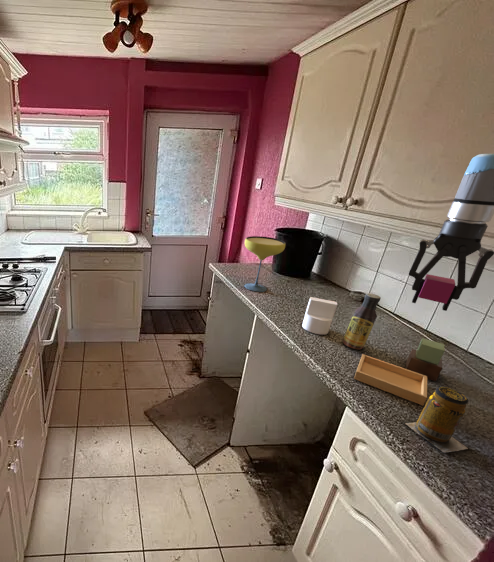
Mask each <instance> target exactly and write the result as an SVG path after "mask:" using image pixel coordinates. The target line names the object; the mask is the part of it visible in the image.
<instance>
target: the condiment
mask: <svg viewBox="0 0 494 562" xmlns="http://www.w3.org/2000/svg"><path fill="white" fill-rule="evenodd" d="M467 404H469V398H467V397H466V395H465V394H463V393H461V391H458V390H456V389H453V388H450V387H448V386H447V387H446V386H438V387H436V389H435V391H434V392H433V394H430V395H429V397H428V398H427V400H426V401H425V404H424V407H423V408H422V410H421V412H420V414H419V416H418V419H417V420H416V421H415V422H405V423H404V424H405V425H406V426H408V428H410V429H411V430H412V431H414V432H415V434H417V435H419V437H422V438H423V439H425V440H426V441H428V443H430V444H431V445H433V446H434V447H435V448H437V449H438V450H440V451H441V453H451V452H459V451H464V450H468V449H469V448H468V447H467V446H466V445H464V444H463V443H461V442H460V441H459V440H457V439H456V438H454V437H453V435H454V433H455V431H456V430H457V427H458V426H459V424H460V423H461V421H462V419H463V417H464V415H465V414H466V408H467Z"/></svg>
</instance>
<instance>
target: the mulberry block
mask: <svg viewBox="0 0 494 562" xmlns="http://www.w3.org/2000/svg"><path fill="white" fill-rule="evenodd" d="M424 279H425V282H424V285H423V287H422V289H421V292H420V294H419V296H418V299H423V300H428V301H432V302H436V303H441V304H443V305H444V304H447V302H448V300H449V297H450V295H451V293H452V291H453V289H454V287H455V286H456V281H455V279H453V278H449V277H444V276H440V275H439V276H438V275H434V274H429V273H427V274H426V275H425V276H424Z"/></svg>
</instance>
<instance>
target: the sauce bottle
mask: <svg viewBox="0 0 494 562" xmlns="http://www.w3.org/2000/svg"><path fill="white" fill-rule="evenodd" d="M363 299H364V300H363V302H362V304H361V305H360V306H359V307H357V308H356V309H355V311H354V314H353V315H352V317H351V319H350V321H349V324H348V327H347V329H346V331H345V334H344V336H343V339H342V343H343V345H344V346H346V347H348V348H350V349H354V350H357V351H358V350H362V349H363V348H364V347H365V345H366V343H367V340H368V338H369V336H370V334H371V332H372V329H373V327H374V325H375V321H376V319H377V318H378V314H377V311H376V310H377V306H378V304H379V303H380V301H381V296H379V295H377V294H374V293H370V292H369V293H366V294H365V295H364V298H363Z"/></svg>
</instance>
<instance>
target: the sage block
mask: <svg viewBox="0 0 494 562" xmlns="http://www.w3.org/2000/svg"><path fill="white" fill-rule="evenodd" d="M416 350H417V351H416V358H418V359H421V360H424V361H427V362H431V363H434V364H437V365H438V364H439V362H440V360H441V358H442V357H443V355H444V353H445V351H446V350H445V344H444V343H441V342H438V341H434V340H431V339H427V338H424V337H422V338H421V339H420V342H419V343H418V346H417V349H416Z"/></svg>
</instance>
